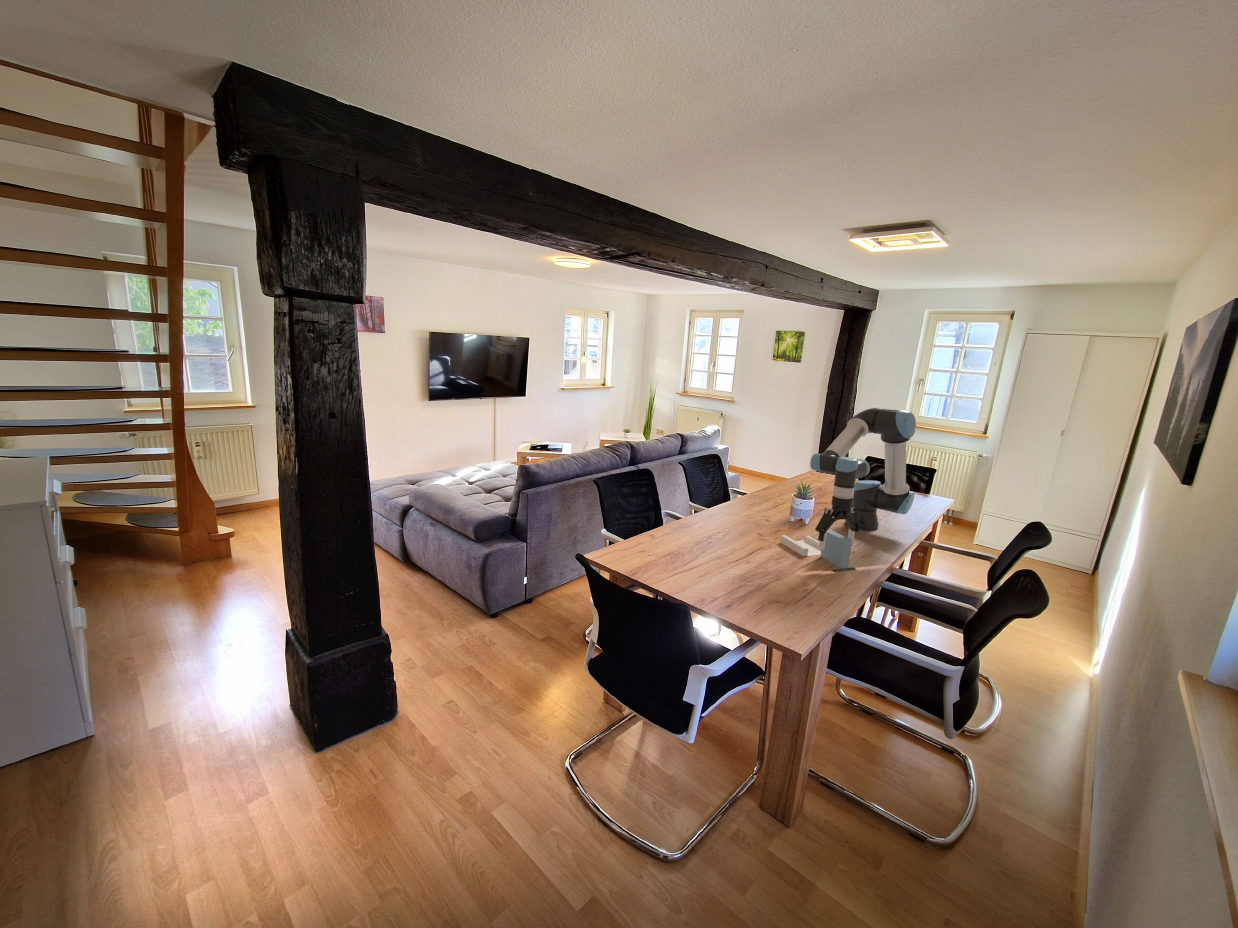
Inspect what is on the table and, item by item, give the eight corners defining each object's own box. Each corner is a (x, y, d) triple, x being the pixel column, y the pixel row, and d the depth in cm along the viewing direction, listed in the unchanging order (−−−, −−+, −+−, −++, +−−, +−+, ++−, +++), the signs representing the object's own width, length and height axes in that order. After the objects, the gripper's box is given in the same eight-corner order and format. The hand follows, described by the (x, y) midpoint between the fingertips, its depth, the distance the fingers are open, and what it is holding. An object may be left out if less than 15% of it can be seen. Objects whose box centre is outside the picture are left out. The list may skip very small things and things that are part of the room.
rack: (825, 540, 225) (826, 531, 224) (850, 554, 210) (851, 544, 209) (780, 544, 219) (781, 535, 218) (803, 558, 204) (804, 548, 203)
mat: (831, 556, 207) (832, 555, 207) (856, 570, 194) (856, 568, 194) (811, 558, 204) (812, 557, 204) (835, 572, 191) (835, 571, 191)
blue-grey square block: (827, 556, 205) (830, 529, 203) (847, 568, 194) (851, 540, 191) (820, 557, 204) (823, 530, 202) (840, 569, 193) (844, 540, 190)
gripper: (861, 492, 200) (854, 541, 205) (809, 495, 193) (803, 545, 198) (875, 497, 193) (868, 547, 198) (822, 500, 186) (815, 552, 190)
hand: (835, 547), depth 198 cm, fingers open, 13 cm apart
